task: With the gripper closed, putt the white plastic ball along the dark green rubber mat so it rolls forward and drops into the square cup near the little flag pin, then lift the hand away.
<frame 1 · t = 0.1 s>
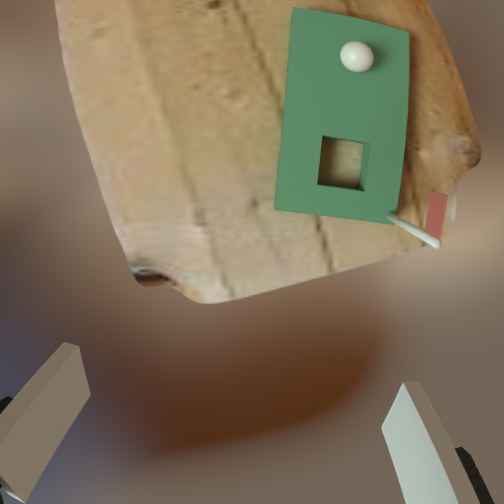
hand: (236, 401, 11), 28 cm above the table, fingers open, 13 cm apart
ball: (356, 56, 27), point 4 cm above the table, touching green
green: (344, 113, 33), on the table
pin: (380, 211, 36), resting on green
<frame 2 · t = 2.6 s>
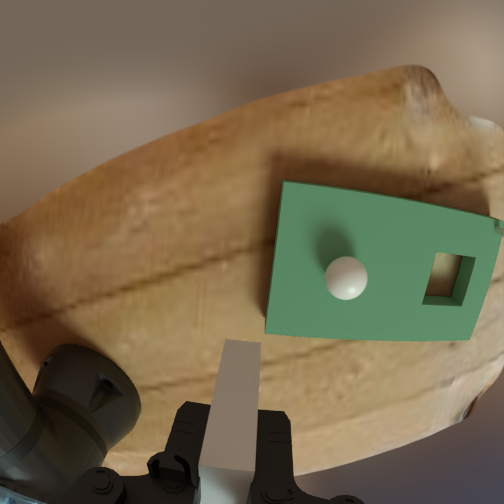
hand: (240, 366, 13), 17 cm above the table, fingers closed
ball: (346, 278, 26), point 4 cm above the table, touching green
green: (391, 267, 30), on the table
pin: (484, 224, 28), resting on green
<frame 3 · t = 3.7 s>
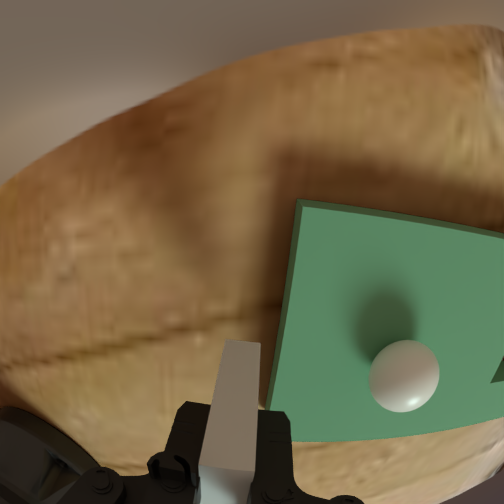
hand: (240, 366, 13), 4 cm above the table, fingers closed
ball: (404, 376, 13), point 4 cm above the table, touching green
green: (456, 332, 17), on the table
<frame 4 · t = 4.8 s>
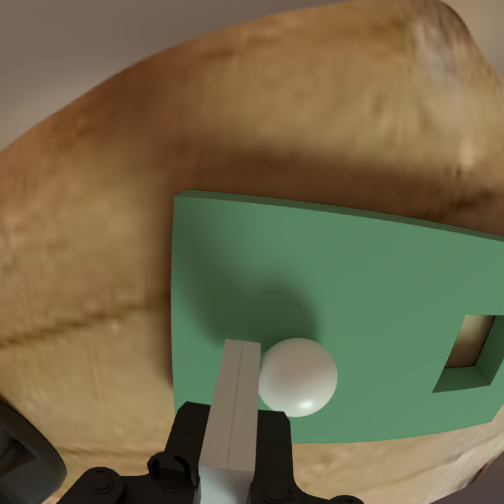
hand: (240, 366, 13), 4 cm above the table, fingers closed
ball: (296, 377, 13), point 4 cm above the table, touching green, gripper
green: (388, 334, 17), on the table
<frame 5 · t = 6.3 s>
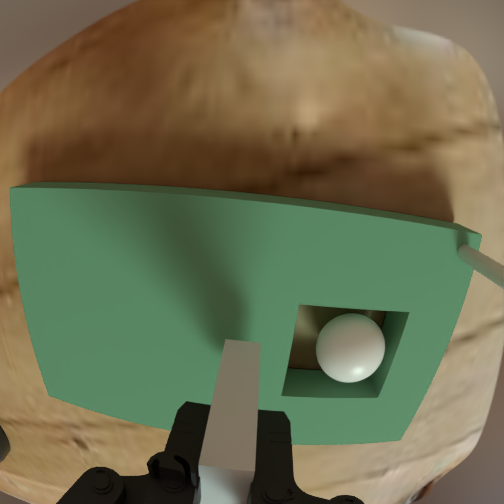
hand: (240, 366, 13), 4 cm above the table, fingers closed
ball: (350, 348, 15), point 2 cm above the table, tilted 61°
green: (227, 322, 17), on the table
pin: (439, 238, 15), resting on green
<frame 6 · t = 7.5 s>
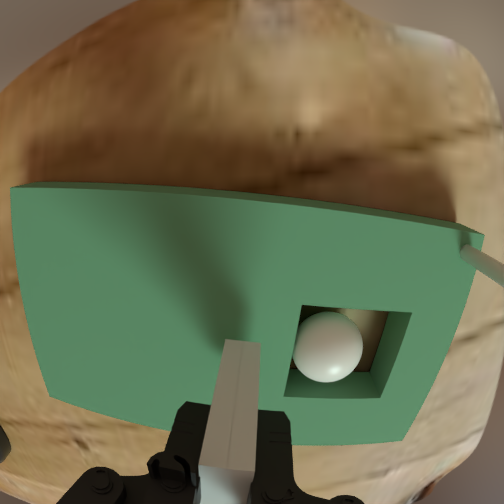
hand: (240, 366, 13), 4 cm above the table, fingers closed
ball: (327, 347, 15), point 2 cm above the table, tilted 16°
green: (229, 323, 17), on the table
pin: (442, 238, 15), resting on green
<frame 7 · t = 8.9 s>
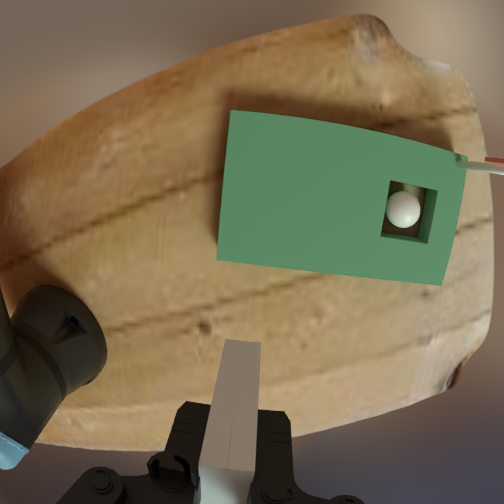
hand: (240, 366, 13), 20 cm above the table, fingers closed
ball: (403, 209, 29), point 2 cm above the table, tilted 29°
green: (347, 199, 30), on the table
pin: (447, 162, 28), resting on green
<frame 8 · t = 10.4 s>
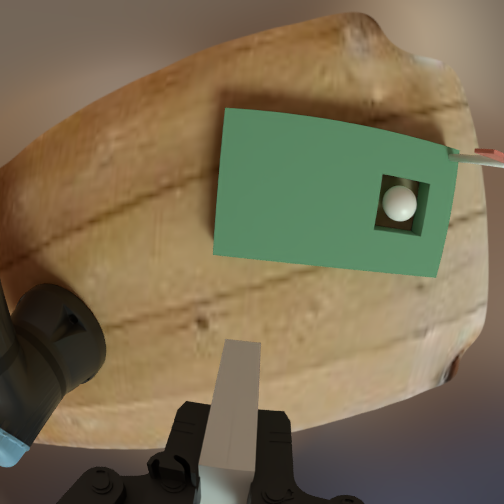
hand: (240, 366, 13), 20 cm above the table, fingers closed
ball: (399, 203, 29), point 2 cm above the table, tilted 42°
green: (340, 193, 31), on the table
pin: (439, 156, 29), resting on green
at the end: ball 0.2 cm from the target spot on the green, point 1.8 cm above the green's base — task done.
